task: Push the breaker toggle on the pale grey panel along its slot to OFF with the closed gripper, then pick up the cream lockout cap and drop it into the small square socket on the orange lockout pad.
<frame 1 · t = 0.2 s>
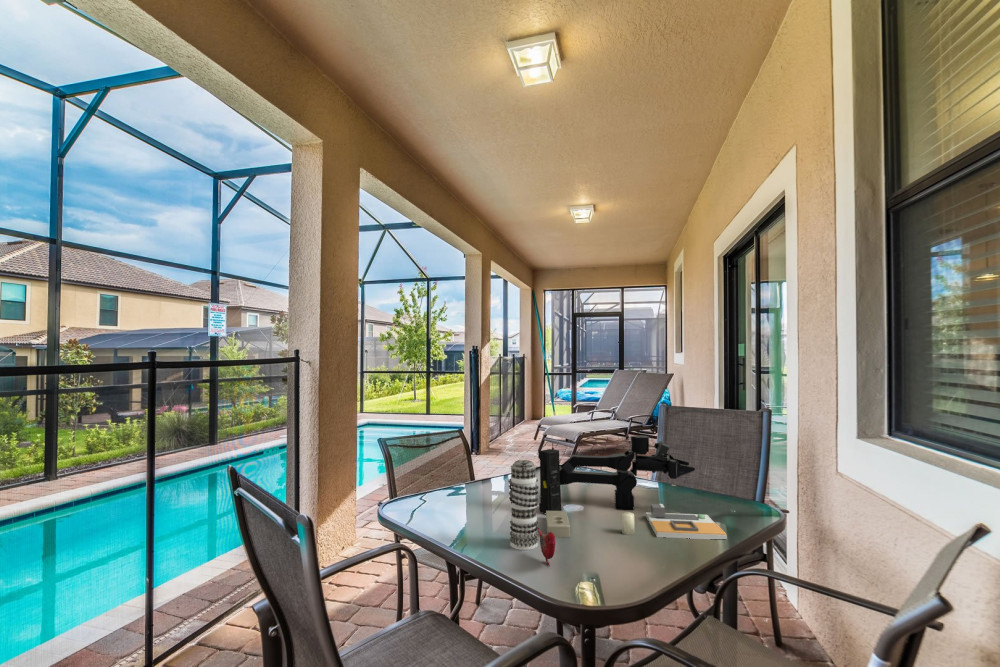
hand: (691, 466, 173), 16 cm above the table, tool horizontal, fingers open, 9 cm apart
portable radio: (549, 512, 171), on the table
decorative candle: (524, 545, 140), on the table
lockout cap: (628, 532, 150), on the table
decorative bird figurine: (545, 561, 128), on the table
breaker toggle: (657, 510, 161), point 4 cm above the table, slide at 0.0 cm
electrical outlet: (557, 529, 155), on the table
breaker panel: (683, 527, 154), on the table
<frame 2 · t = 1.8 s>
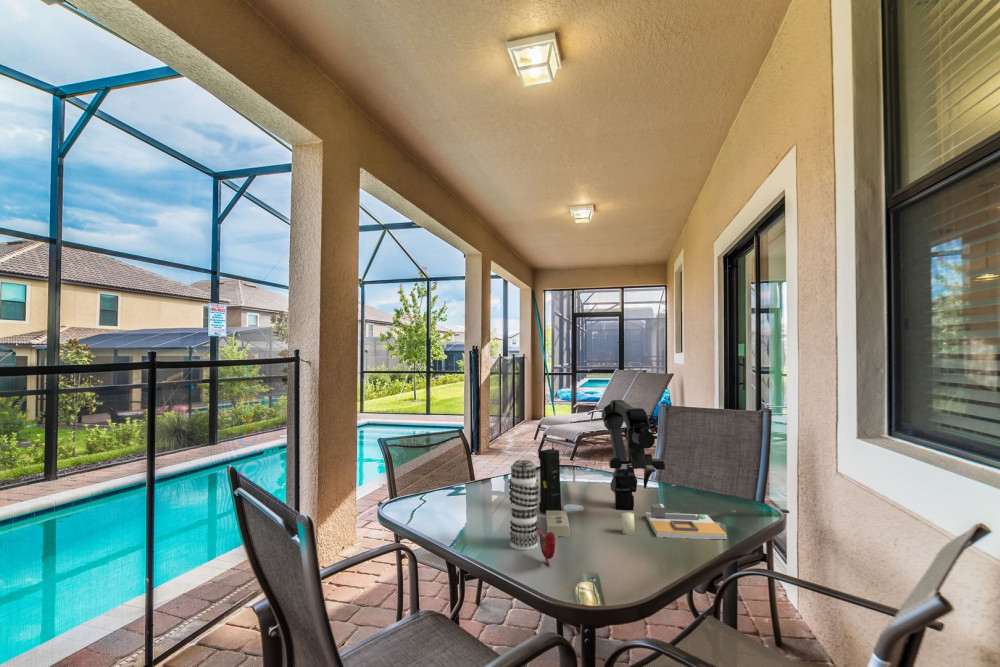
hand: (636, 488, 163), 11 cm above the table, tool pointing down, fingers open, 5 cm apart
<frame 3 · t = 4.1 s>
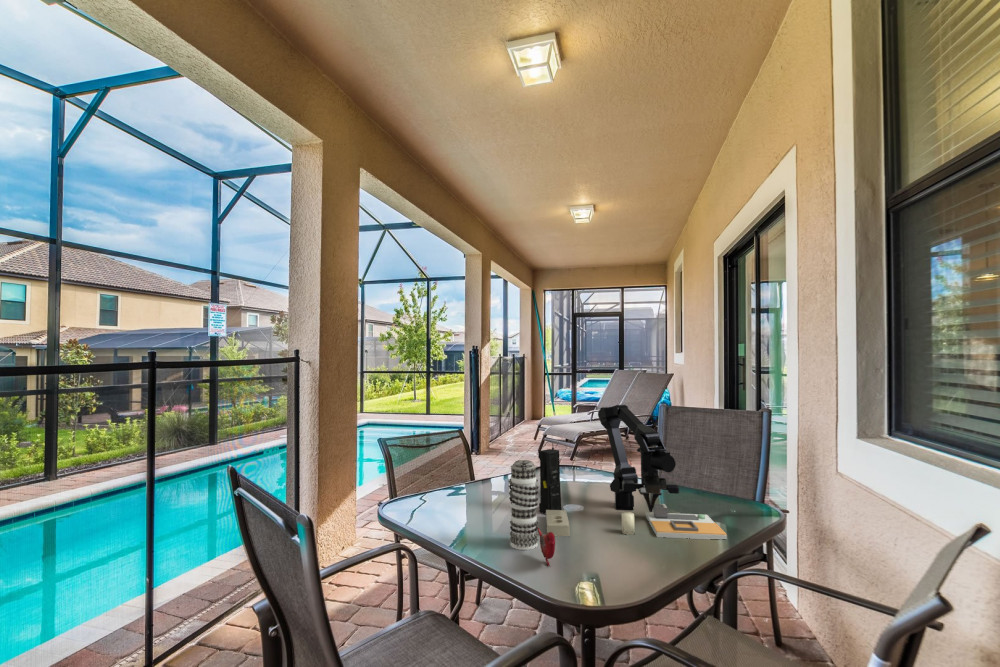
hand: (650, 511, 161), 3 cm above the table, tool pointing down, fingers closed
breaker toggle: (660, 510, 161), point 4 cm above the table, slide at 0.9 cm, touching gripper
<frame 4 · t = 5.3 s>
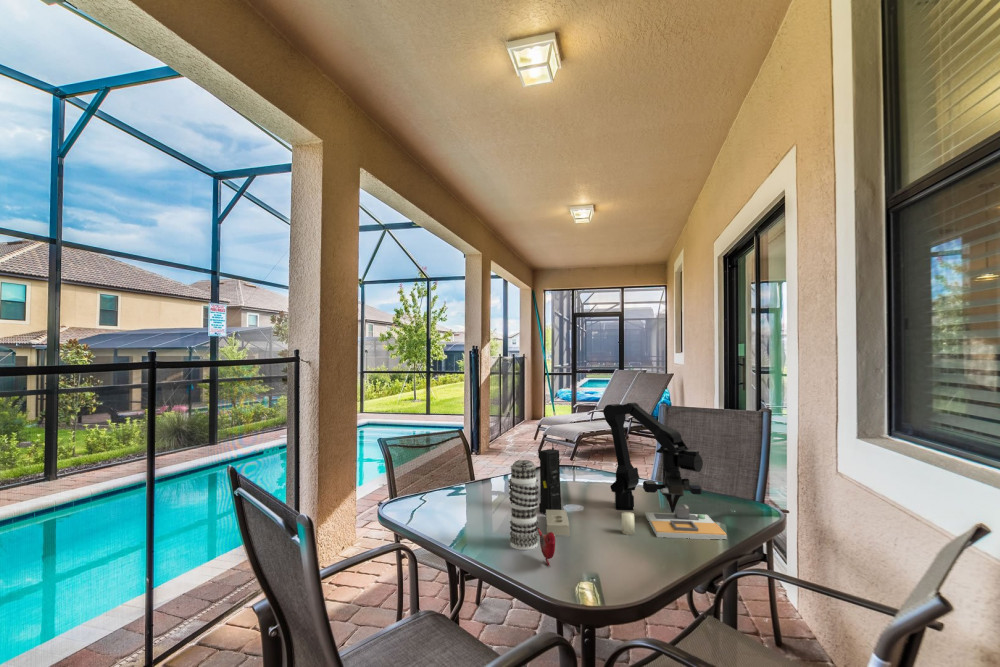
hand: (672, 512, 160), 3 cm above the table, tool pointing down, fingers closed
breaker toggle: (681, 511, 160), point 4 cm above the table, slide at 8.1 cm, touching gripper
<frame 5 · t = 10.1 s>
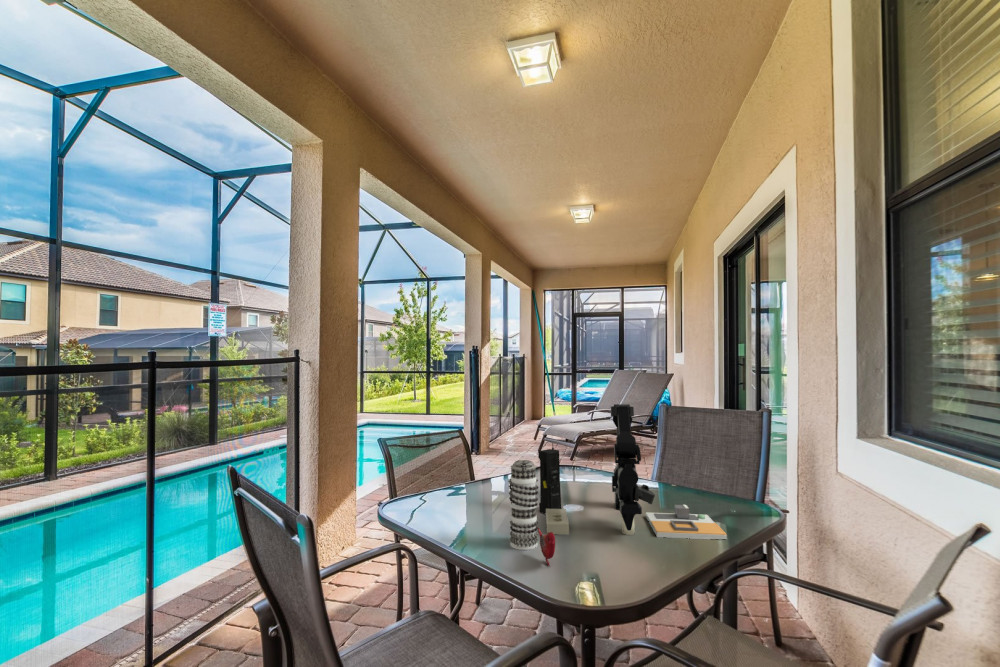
hand: (628, 527, 150), 2 cm above the table, tool pointing down, fingers closed on lockout cap, 4 cm apart
lockout cap: (628, 532, 150), on the table, touching gripper
breaker toggle: (681, 511, 160), point 4 cm above the table, slide at 8.0 cm
electrical outlet: (556, 526, 157), on the table
everything else where it was.
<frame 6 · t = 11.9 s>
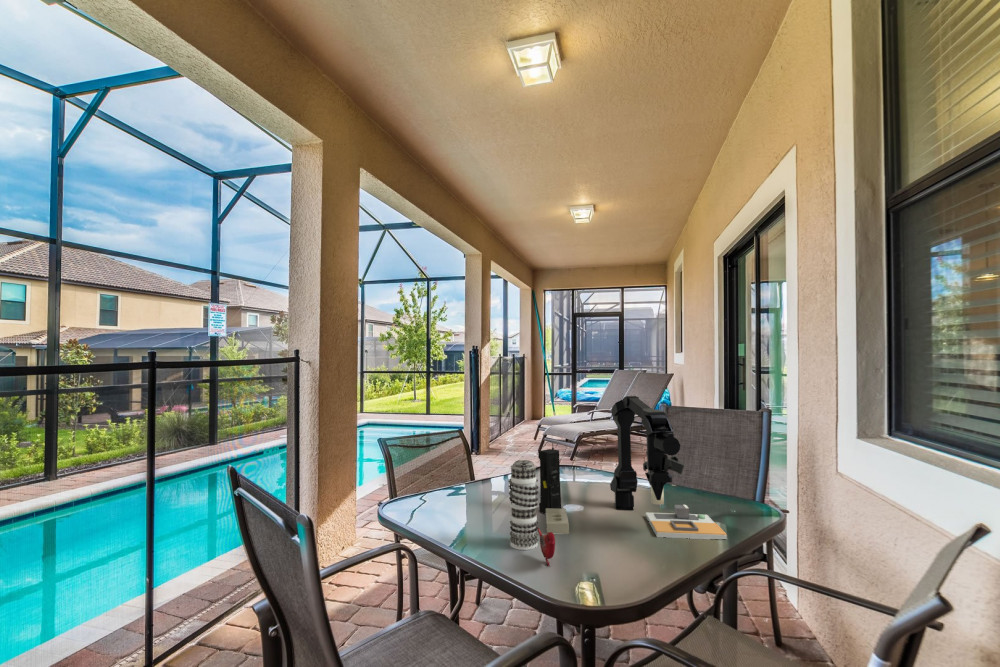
hand: (657, 498, 150), 11 cm above the table, tool pointing down, fingers closed on lockout cap, 4 cm apart
lockout cap: (657, 503, 150), point 10 cm above the table, touching gripper
when the fingers open (4 cm above the table, at t = 13.9 s): lockout cap drops 1 cm, resting on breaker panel.
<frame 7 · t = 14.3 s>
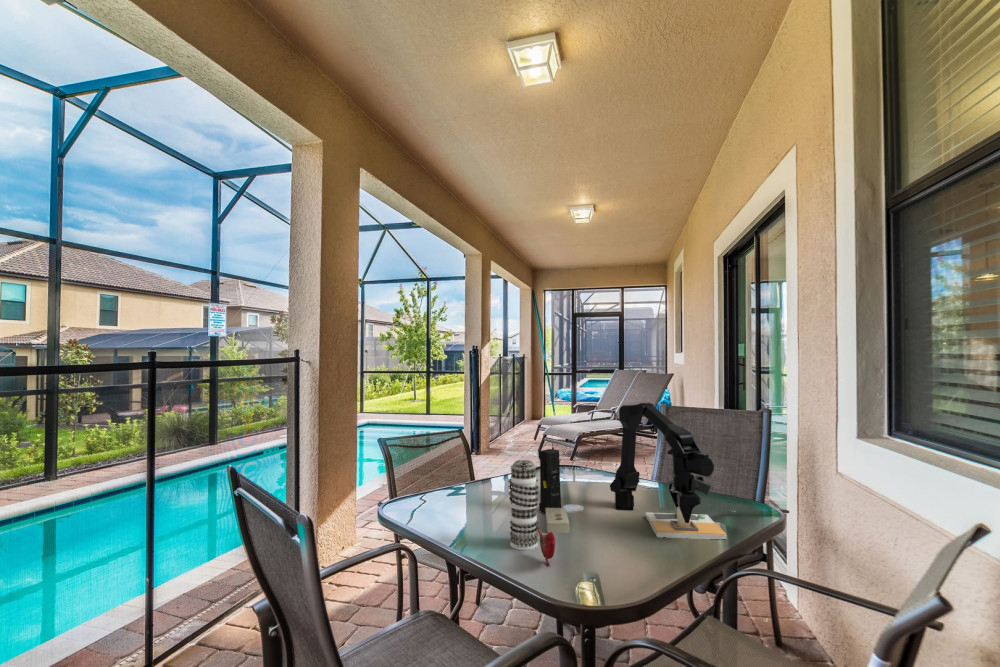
hand: (683, 518, 150), 4 cm above the table, tool pointing down, fingers open, 8 cm apart
lockout cap: (683, 527, 149), point 2 cm above the table, touching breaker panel
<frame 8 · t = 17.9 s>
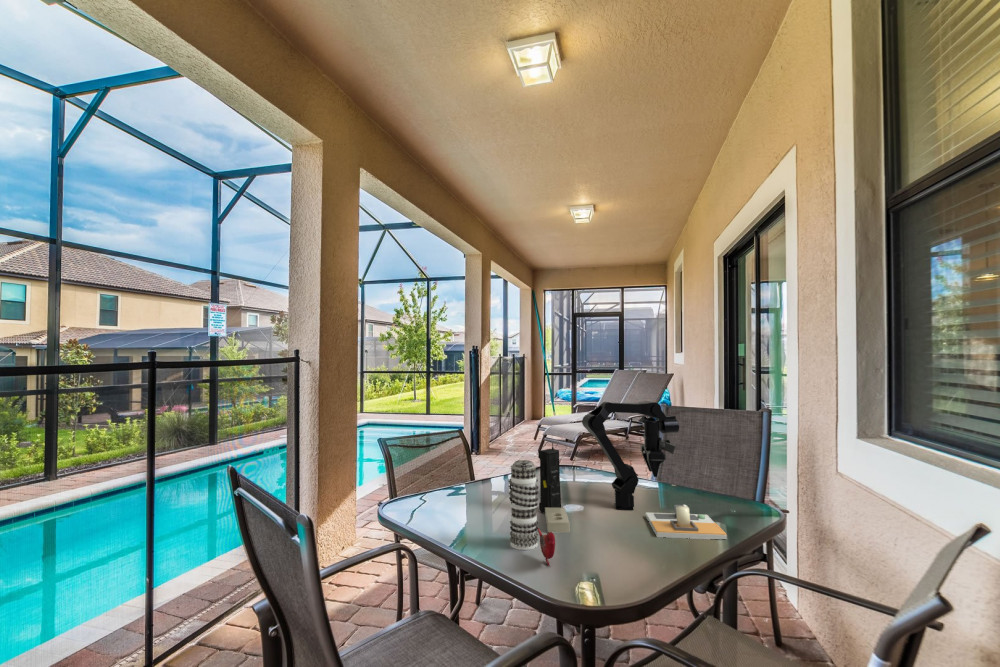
hand: (653, 474, 179), 12 cm above the table, tool pointing down, fingers open, 9 cm apart
at the end: breaker toggle slide at 8.0 cm; lockout cap 0.1 cm from the target spot on the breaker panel, point 1.9 cm above the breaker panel's base; lockout cap tilted 2° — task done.
